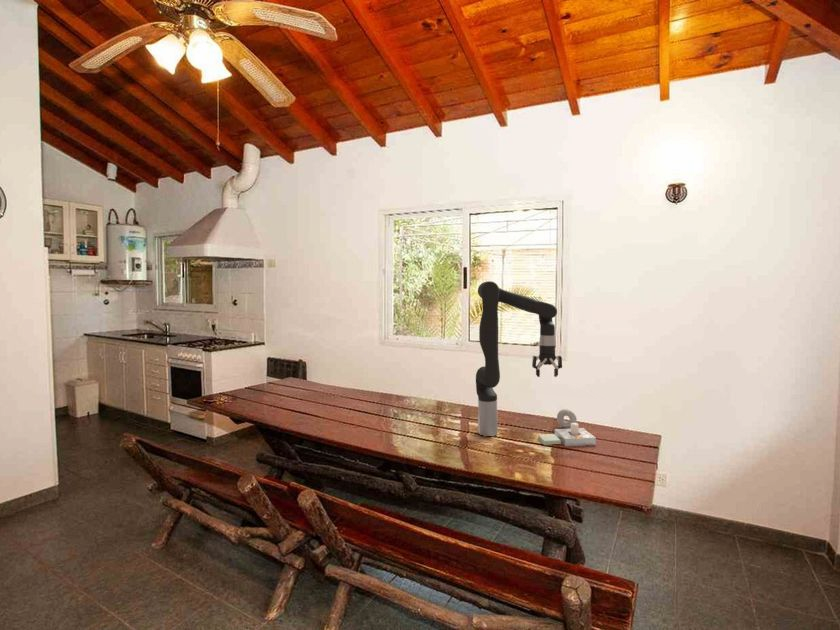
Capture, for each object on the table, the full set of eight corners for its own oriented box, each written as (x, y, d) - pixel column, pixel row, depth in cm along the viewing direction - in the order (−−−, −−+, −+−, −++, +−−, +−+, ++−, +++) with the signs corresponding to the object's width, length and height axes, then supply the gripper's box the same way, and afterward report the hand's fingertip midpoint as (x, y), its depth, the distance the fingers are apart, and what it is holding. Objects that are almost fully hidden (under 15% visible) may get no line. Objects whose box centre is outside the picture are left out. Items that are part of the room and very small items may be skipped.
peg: (572, 441, 210) (572, 425, 210) (569, 439, 213) (569, 422, 213) (579, 441, 210) (579, 424, 210) (576, 439, 214) (576, 422, 213)
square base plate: (544, 445, 207) (544, 440, 207) (538, 438, 216) (538, 434, 215) (560, 444, 207) (560, 440, 207) (553, 438, 216) (553, 433, 216)
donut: (555, 427, 232) (555, 408, 231) (558, 425, 234) (558, 406, 234) (575, 431, 225) (575, 411, 225) (577, 429, 228) (577, 409, 228)
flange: (565, 446, 205) (565, 438, 204) (554, 436, 218) (554, 428, 218) (595, 445, 205) (595, 437, 205) (583, 435, 219) (583, 427, 219)
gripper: (535, 345, 220) (534, 378, 221) (564, 345, 220) (563, 378, 221) (531, 343, 228) (530, 375, 229) (559, 343, 228) (558, 375, 229)
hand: (546, 376), depth 225 cm, fingers open, 8 cm apart
